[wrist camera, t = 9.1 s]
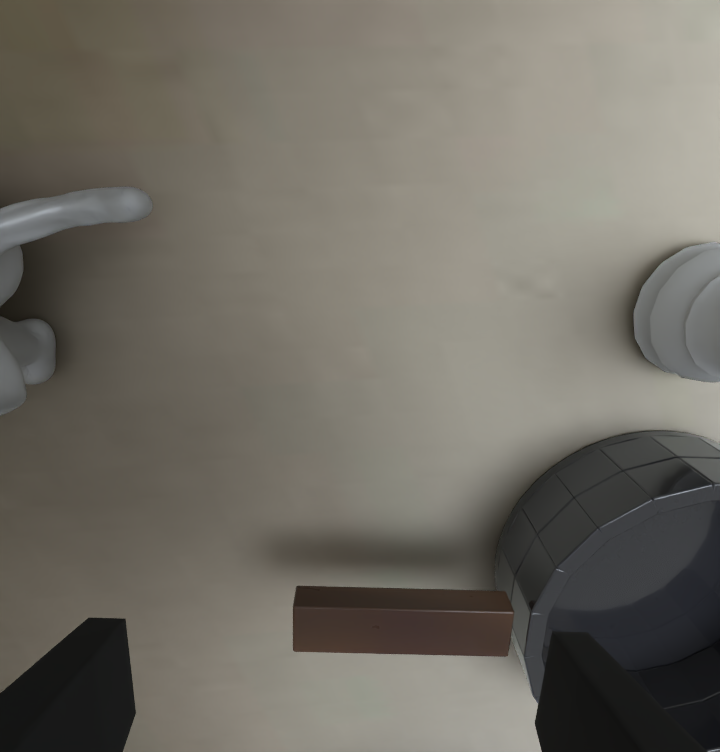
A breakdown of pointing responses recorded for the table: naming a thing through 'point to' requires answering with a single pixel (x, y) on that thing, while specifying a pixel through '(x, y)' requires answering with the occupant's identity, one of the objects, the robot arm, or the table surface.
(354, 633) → the pan handle
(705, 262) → the rook chess piece
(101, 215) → the gray elephant figurine
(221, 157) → the table surface
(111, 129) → the table surface
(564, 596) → the pan
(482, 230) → the table surface
